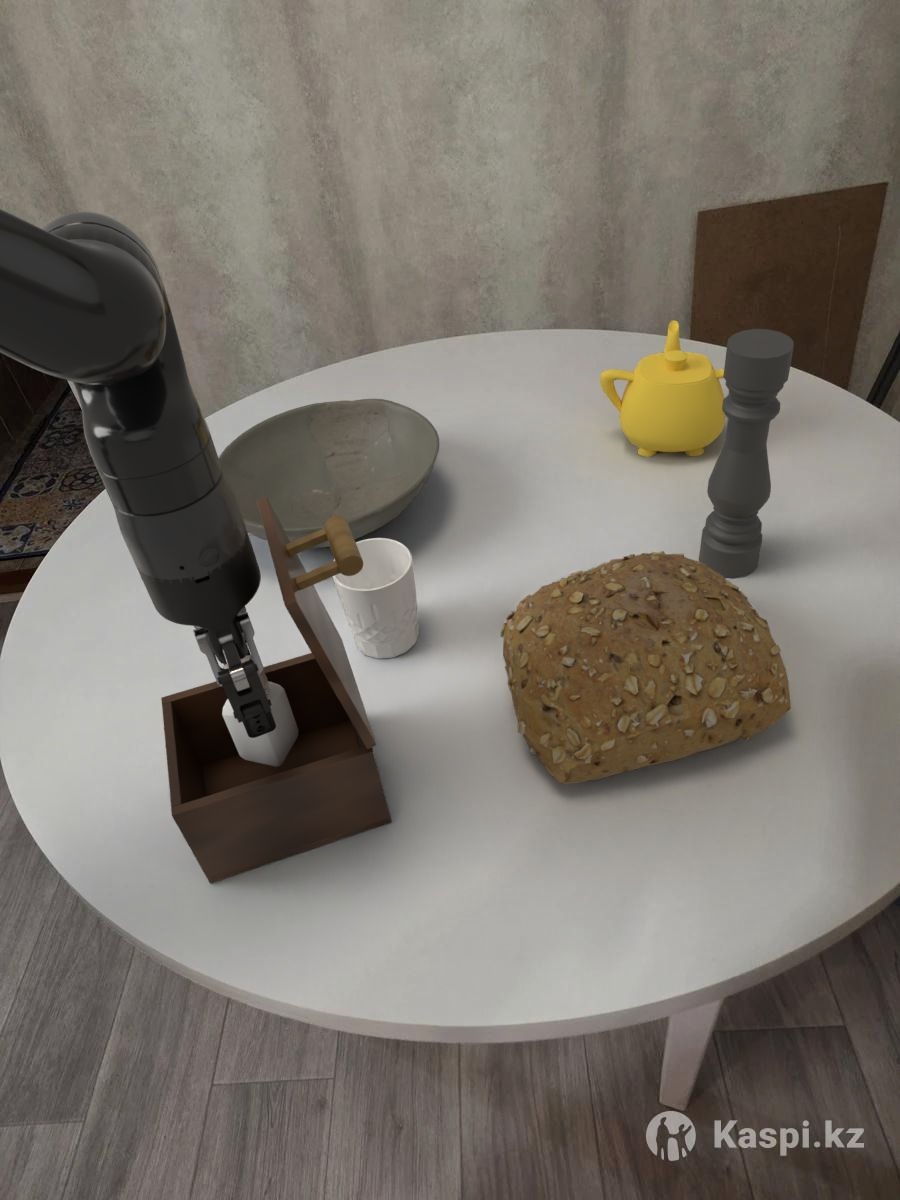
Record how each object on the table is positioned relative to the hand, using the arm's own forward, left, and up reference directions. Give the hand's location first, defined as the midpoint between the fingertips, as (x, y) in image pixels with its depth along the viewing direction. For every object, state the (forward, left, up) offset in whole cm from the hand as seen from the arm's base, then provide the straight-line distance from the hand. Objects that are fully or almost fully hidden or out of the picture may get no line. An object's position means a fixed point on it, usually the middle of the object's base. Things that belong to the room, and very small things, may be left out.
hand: (253, 705), depth 69 cm
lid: (+6, -1, +6) cm, 9 cm away
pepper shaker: (0, 0, -6) cm, 6 cm away
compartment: (0, 0, -12) cm, 12 cm away
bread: (+33, -4, -12) cm, 35 cm away
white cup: (+15, +14, -12) cm, 24 cm away
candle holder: (+52, +7, -12) cm, 54 cm away
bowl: (+17, +38, -12) cm, 44 cm away
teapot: (+61, +32, -12) cm, 70 cm away
